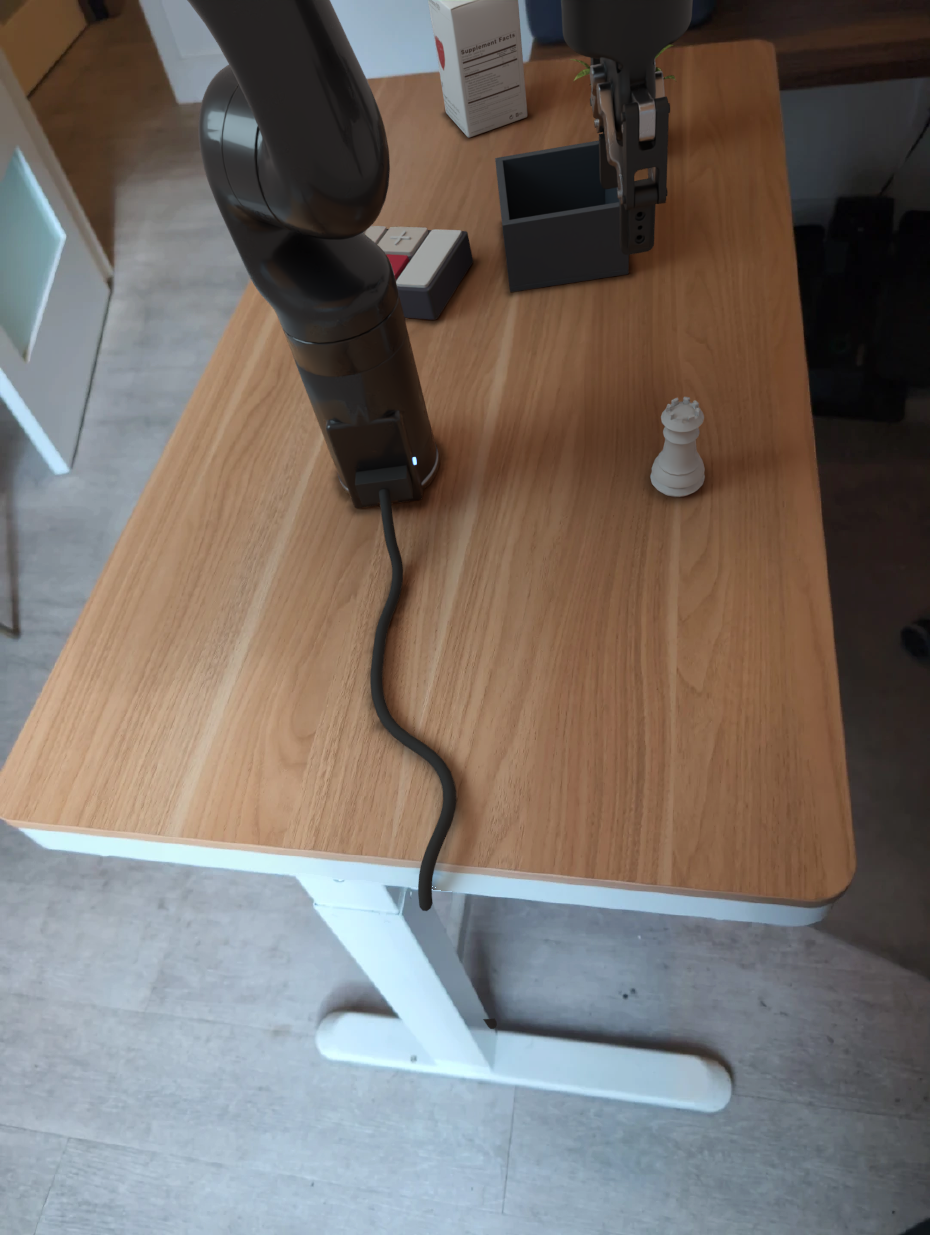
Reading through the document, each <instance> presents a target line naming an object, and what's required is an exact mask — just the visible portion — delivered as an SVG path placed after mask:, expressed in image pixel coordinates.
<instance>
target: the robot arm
mask: <svg viewBox="0 0 930 1235" xmlns="http://www.w3.org/2000/svg"><path fill="white" fill-rule="evenodd" d="M186 1H187V2H188V3H189V4H190V6H191V7H192V8H193V10H194V11H195V12H196V14H197V16H198V17H199V18H200V19H201V21H202V22H203V23H204V25H205V27H206V28H207V30H208V31H209V32H210V34H211V36H212V38H213V40H214V41H215V43H216V44H217V45H218V47H219V49H220V51H221V53H222V54H223V56H224V58H225V60H226V61H227V65H226V66H224V67H223V68H221V69H220V70H219V71H217V73H216V74H215V75H214V76H213V78H212V79H211V80H210V82H209V84H208V85H207V87H206V89H205V92H204V94H203V97H202V99H201V103H200V108H199V113H198V122H197V125H198V126H197V127H198V128H197V129H198V130H197V131H198V146H199V153H200V158H201V163H202V165H203V166H202V167H203V170H204V173H205V177H206V180H207V182H208V186H209V189H210V191H211V194H212V197H213V199H214V201H215V204H216V206H217V208H218V210H219V213H220V215H221V217H222V219H223V221H224V224H225V226H226V228H227V231H228V233H229V235H230V238H231V240H232V241H233V244H234V246H235V248H236V251H237V253H238V255H239V257H240V259H241V262H242V263H243V266H244V268H245V271H246V273H247V274H248V276H249V278H250V280H251V283H252V284H253V286H254V287H255V288H256V290H257V291H258V293H259V294H260V295H261V297H262V298H263V299H264V300H265V301H266V302H267V303H268V304H269V306H270V307H271V308H272V310H273V311H274V312H275V314H276V317H277V319H278V322H279V325H280V327H281V329H282V331H283V334H284V336H285V339H286V342H287V344H288V347H289V350H290V352H291V355H292V358H293V360H294V363H295V366H296V369H297V371H298V373H299V376H300V379H301V382H302V384H303V387H304V389H305V392H306V394H307V398H308V399H309V402H310V406H311V407H312V411H313V413H314V415H315V418H316V421H317V423H318V426H319V428H320V431H321V434H322V436H323V439H324V441H325V444H326V447H327V449H328V452H329V455H330V457H331V459H332V462H333V465H334V467H335V469H336V475H337V478H338V481H339V483H340V485H341V488H342V489H343V491H344V492H345V494H347V495H348V497H350V500H351V501H352V504H353V507H354V508H355V509H361V508H362V509H363V508H368V507H370V508H371V507H377V506H380V512H381V513H380V514H381V522H382V529H383V535H384V541H385V545H386V549H387V553H388V556H389V559H390V564H391V584H390V589H389V591H388V592H389V593H388V596H387V599H386V602H385V604H384V607H383V609H382V612H381V613H380V616H379V618H378V622H377V625H376V629H375V632H374V633H375V634H374V639H373V647H372V648H373V649H372V655H371V664H370V677H369V678H370V679H369V681H370V682H369V683H370V693H371V694H370V695H371V699H372V703H373V706H374V710H375V713H376V716H377V717H378V718H379V721H380V723H381V724H382V726H383V728H385V730H386V731H387V732H388V733H389V734H390V735H391V736H392V737H393V738H394V739H396V740H397V741H398V742H399V743H400V744H402V745H403V746H405V747H406V748H408V749H409V750H410V751H412V752H414V753H415V754H417V755H418V756H419V757H421V758H422V759H423V760H425V761H426V762H427V764H429V765H430V766H431V767H432V769H433V770H434V771H435V773H436V774H437V776H438V779H439V781H440V785H441V790H442V805H441V810H440V814H439V817H438V820H437V822H436V825H435V827H434V829H433V832H432V834H431V836H430V839H429V840H428V844H427V846H426V849H425V851H424V854H423V857H422V859H421V864H420V866H419V873H418V881H417V882H418V883H417V894H418V896H417V897H418V906H419V908H420V910H421V911H422V912H428V911H429V910H431V908H432V906H433V878H434V872H435V868H436V864H437V860H438V858H439V855H440V852H441V850H442V847H443V845H444V843H445V840H446V838H447V835H448V834H449V831H450V829H451V825H452V823H453V820H454V817H455V812H456V809H457V808H456V807H457V788H456V783H455V779H454V777H453V774H452V771H451V770H450V768H449V766H448V765H447V763H446V762H445V760H444V759H443V758H442V757H441V755H440V754H438V753H437V751H435V750H434V749H433V748H431V746H429V745H427V744H426V743H424V742H423V741H421V740H420V739H418V738H417V737H416V736H414V735H412V734H411V733H410V732H408V731H407V730H405V729H404V728H403V727H402V726H401V725H400V724H398V722H397V721H396V720H395V718H394V717H393V715H392V714H391V712H390V710H389V708H388V707H389V706H388V705H387V704H388V703H387V701H386V697H385V693H384V685H383V683H384V682H383V674H384V673H383V672H384V661H385V653H386V651H385V650H386V644H387V637H388V631H389V627H390V624H391V621H392V618H393V615H394V612H395V611H396V608H397V605H398V603H399V599H400V597H401V593H402V590H403V589H402V588H403V581H404V565H403V559H402V555H401V552H400V548H399V545H398V541H397V536H396V529H395V523H394V516H393V509H392V508H393V507H392V505H393V504H401V503H407V502H415V501H421V500H422V499H423V497H424V496H423V495H424V494H423V493H424V490H425V489H426V488H427V487H428V486H430V484H431V483H432V482H433V481H434V479H435V477H436V475H437V473H438V471H439V468H440V463H441V462H440V461H441V460H440V454H439V449H438V446H437V443H436V441H435V437H434V434H433V433H434V432H433V429H432V425H431V421H430V417H429V412H428V409H427V405H426V401H425V396H424V392H423V389H422V384H421V380H420V376H419V372H418V368H417V364H416V360H415V356H414V351H413V347H412V343H411V339H410V334H409V331H408V330H409V329H408V326H407V321H406V317H404V313H403V309H402V305H401V301H400V296H399V292H398V288H397V284H396V280H395V275H394V272H393V268H392V265H391V263H390V260H389V258H388V257H387V255H386V254H385V252H384V251H383V250H382V249H381V248H380V247H379V246H378V245H377V244H376V243H375V242H374V241H373V240H371V239H370V238H369V237H368V236H366V235H365V234H364V233H363V232H364V231H366V230H367V229H368V228H369V227H370V226H373V225H374V223H375V222H376V221H377V219H378V218H379V216H380V214H381V212H382V209H383V207H384V206H385V202H386V200H387V195H388V190H389V185H390V175H391V174H390V172H391V163H390V149H389V144H388V138H387V132H386V128H385V123H384V121H383V117H382V115H381V111H380V109H379V106H378V103H377V101H376V98H375V95H374V92H373V90H372V88H371V86H370V83H369V82H368V79H367V77H366V74H365V72H364V70H363V69H362V66H361V64H360V62H359V60H358V57H357V55H356V53H355V51H354V49H353V47H352V45H351V43H350V40H349V38H348V36H347V34H346V31H345V30H344V28H343V25H342V23H341V21H340V19H339V16H338V15H337V12H336V10H335V8H334V6H333V3H332V2H331V0H186ZM693 1H694V0H560V5H561V7H560V8H561V26H562V37H563V40H564V41H565V44H566V46H568V47H569V48H570V49H571V51H573V52H575V53H576V54H578V55H581V56H584V57H586V58H589V59H590V74H589V79H590V84H591V85H590V98H589V105H590V107H591V110H592V118H593V119H594V120H593V126H594V129H595V130H596V133H597V134H598V140H599V170H600V182H601V186H602V187H603V188H604V189H611V188H617V187H618V190H617V197H618V199H619V202H620V248H621V251H622V253H623V254H625V255H629V256H630V255H631V256H632V255H636V254H641V253H647V252H650V251H651V250H652V249H653V248H654V247H655V228H656V205H662V204H666V203H667V197H668V194H669V192H668V186H667V185H668V184H667V183H668V182H667V181H668V154H669V152H668V151H669V119H670V117H669V116H670V113H671V103H670V102H669V99H668V98H669V97H668V96H665V95H666V92H665V79H664V72H663V70H662V71H658V72H655V70H656V67H657V66H656V65H657V64H656V59H655V56H656V55H657V54H658V53H659V52H660V51H661V50H662V49H663V48H665V47H666V46H668V45H669V44H670V45H673V44H674V43H675V42H677V41H678V40H679V39H680V38H682V37H683V35H684V34H685V33H686V32H687V30H688V29H689V27H690V24H691V21H692V18H693ZM646 169H647V178H642V179H638V180H637V179H636V180H635V174H636V173H637V172H638V171H641V170H646ZM482 1020H483V1022H484V1023H485V1025H486V1027H488V1029H490V1030H494V1029H496V1028H497V1025H498V1022H497V1020H496V1018H494V1017H493V1018H484V1019H482Z"/></svg>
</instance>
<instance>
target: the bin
mask: <svg viewBox="0 0 930 1235" xmlns="http://www.w3.org/2000/svg"><path fill="white" fill-rule="evenodd" d="M494 162H495V170H496V180H497V189H498V190H497V191H498V199H499V209H500V217H501V228H502V236H503V242H504V243H503V245H504V252H505V260H506V270H507V278H508V285H509V287H508V288H509V292H510V293H514V292H521V291H527V290H528V291H529V290H533V289H534V290H535V289H540V288H547V287H555V286H558V285H567V284H574V283H579V282H586V281H592V280H593V281H594V280H598V279H599V280H601V279H605V278H612V277H619V276H625V275H629V273H630V270H629V269H630V267H629V265H630V255H625V254H623V253H622V251H621V248H620V202H619V199H618V197H617V190H618V187H617V188H611V189H604V188H603V187H602V186H601V182H600V170H599V139H598V140H593V141H586V142H581V143H575V144H568V145H562V146H557V147H552V148H551V147H550V148H546V149H540V150H539V149H538V150H534V151H529V152H522V153H517V154H516V153H515V154H511V155H505V156H499V157H498V156H497V157H495V158H494Z"/></svg>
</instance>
